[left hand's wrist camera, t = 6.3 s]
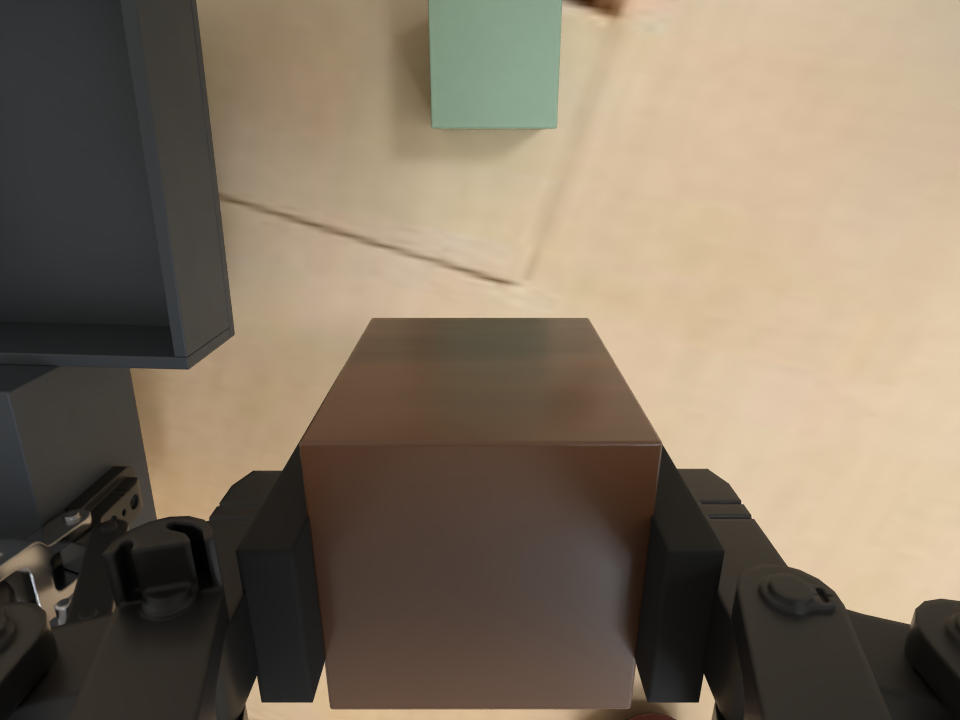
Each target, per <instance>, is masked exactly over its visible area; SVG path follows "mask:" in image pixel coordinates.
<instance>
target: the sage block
mask: <svg viewBox="0 0 960 720" xmlns="http://www.w3.org/2000/svg"><path fill="white" fill-rule="evenodd" d="M428 13H429V51H430V89H431V127H432V128H434V129H441V130H542V129H554V128H556V127H557V110H558V86H559V62H560V38H561V14H562V0H428Z"/></svg>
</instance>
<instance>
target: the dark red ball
mask: <svg viewBox="0 0 960 720" xmlns="http://www.w3.org/2000/svg"><path fill="white" fill-rule="evenodd" d="M628 720H676V719H673V718H671V717H669V716H667V715H662V714H656V713H646V714H640V715H637V716H634V717H632V718H629V719H628Z"/></svg>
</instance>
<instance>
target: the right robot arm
mask: <svg viewBox="0 0 960 720" xmlns="http://www.w3.org/2000/svg"><path fill="white" fill-rule="evenodd" d="M142 508H143V501H142V496H141V490H140V485H139V479H138V477H135V472H134V469H133V467H131V466H113V467H112V468H111V469H110V470H109V471H107V472H106V473H105V474H104V475H103V476H102V477H100V478H99V479H98V480H97V481H96V482H95V483H93V484H92V485H91V486H90V487H89V488H88V489H86V490H85V491H84V492H83V493H82V494H81V495H80V496H78V497H77V498H76V499H75V500H74V501H73V502H71V503H70V504H69V505H68V506H67V507H66V508H64V509H65V512H64V513H62V514H60V515H58V516H57V517H55V518H54V519H52V520H51V521H50V522H48V523H47V524H45V525H44V526H42V527H41V528H39V529H38V530H36V531H35V532H33V533H32V534H30V535H29V536H27V537H26V538H25V539H18V538H12V537H7V538H4V539H2V540H0V604H3V603H11V602H18V601H22V602H28V603H35V604H38V605H39V606H40V607H41V608H42V609H43V610H44V611H46V614H47V617H48V620H49V623H50V626H51V627H54V626H58V625H63V624H67V623H72V622H76V621H80V620H85V619H89V618H94V617H98V616H102V615H105V614H109V613H112V612H114V609H115V607H116V605H115V601H114V597H113V594H112V590H111V586H110V582H109V579H108V575H107V571H106V567H105V564H104V560H103V556H102V554H103V553H104V551H105V550H106V549H107V548H108V547H109V545H110V544H111V543H112V542H113V541H114V540H116V539H117V538H119V537H120V536H121V535H123V534H124V533H126V532H127V531H129V526H128V524H130V523H131V522H132V521H133V520H134V518H136V517H137V516H138V515H139V513H140V512H141V511H142ZM58 552H59V555H60V559H61V563H62V564H61V565H59V566H58V567H57V568H56V569H54V570H53V571H52V572H51V569H50V562H51V559H52V558H53V556H54V555H55V554H57V553H58ZM72 594H73V596H72V599H71V598H68V597H69V596H71V595H72Z"/></svg>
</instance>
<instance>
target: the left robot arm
mask: <svg viewBox="0 0 960 720" xmlns="http://www.w3.org/2000/svg"><path fill="white" fill-rule="evenodd" d="M341 371H342V370H341ZM338 376H339V375H338ZM335 381H336V380H335ZM334 383H335V382H334ZM331 388H332V387H331ZM328 393H329V392H328ZM327 395H328V394H327ZM325 398H326V397H325ZM324 400H325V399H324ZM321 405H322V404H321ZM320 407H321V406H320ZM318 410H319V409H318ZM317 412H318V411H317ZM315 415H316V414H315ZM314 417H315V416H314ZM311 422H312V421H311ZM310 424H311V423H310ZM308 427H309V426H308ZM307 429H308V428H307ZM304 434H305V433H304ZM303 436H304V435H303ZM301 439H302V438H301ZM300 441H301V440H300ZM299 443H300V442H299ZM299 443H298V445H297V447H296V449H295V450H294V452H293V454H292V455H291V457H290V459H289V461H288V462H287V464H286V466H285V467H284V469H283V471H252V472H251V473H249V474H248V475H246V476H245V477H244V478H242V479H241V480H239V481H238V482H236V483H235V484H234V485H232V486H231V488H230V489H229V490H228V492H227V493H226V495H225V496H224V498H223V499H222V500H221V502H220V506H217V507H216V509H215V510H214V512H213V513H212V515H211V516H210V517H209V518H210V519H209V521H207V522H206V521H205V520H203V519H199V518H195V517H191V516H178V517H167V518H163V519H158V520H154V521H150V522H147V523H145V524H142V525H140V526H138V527H135V528H133V529H131V530H129V531H127V532H126V533H124V534H123V535H121V536H120V537H119V538H117V539H116V540H114V541H113V542H112V543H111V544H110V545H109V547H108V548H107V549H106V550H105V551H104V553H103V554H102V556H103V560H104V564H105V567H106V571H107V575H108V579H109V582H110V586H111V590H112V594H113V597H114V601H115V605H116V607H115V609H114V612H112V613H109V614H105V615H102V616H98V617H94V618H89V619H85V620H80V621H76V622H72V623H67V624H63V625H58V626H54V627H51V626H50V623H49V620H48V617H47V614H46V611H44V610H43V609H42V608H41V607H40V606H39V605H38V604H35V603H28V602H22V601H18V602H11V603H3V604H0V720H248V715H247V710H246V704H245V703H246V701H247V698H248V696H249V693H250V691H251V688H252V686H253V684H254V681H255V679H256V676H257V678H258V684H259V690H260V696H261V701H262V702H313V700H314V696H315V693H316V690H317V686H318V683H319V679H320V676H321V673H322V669H323V666H324V662H325V652H324V643H323V635H322V626H321V618H320V609H319V601H318V592H317V584H316V575H315V567H314V558H313V550H312V541H311V533H310V524H309V516H308V515H307V507H306V499H305V490H304V482H303V473H302V465H301V456H300V448H299ZM635 661H636V664H637V668H638V671H639V675H640V678H641V681H642V685H643V688H644V692H645V695H646V698H647V702H699V698H700V692H701V686H702V681H703V675H705V677H706V680H707V682H708V684H709V687H710V689H711V692H712V694H713V696H714V699H715V704H714V710H713V715H712V720H960V601H955V600H947V599H936V600H930V601H924V602H923V603H922V604H921V605H920V606H919V607H917V608H916V609H915V612H914V615H913V618H912V621H911V625H909V624H905V623H900V622H896V621H892V620H887V619H883V618H878V617H874V616H869V615H865V614H861V613H857V612H854V611H851V610H847V609H846V608H845V606H844V604H843V603H842V602H841V600H840V599H839V597H838V596H837V594H836V593H835V592H834V591H833V590H832V589H831V588H829V587H828V586H827V585H826V584H824V583H823V582H822V581H820V580H819V579H817V578H815V577H813V576H811V575H809V574H807V573H805V572H803V571H801V570H798V569H794V568H791V567H788V566H787V565H786V563H785V562H784V561H783V559H782V558H781V556H780V555H779V554H778V552H777V551H776V549H775V548H774V547H773V545H772V544H771V542H770V541H769V539H768V538H767V537H766V535H765V534H764V532H763V531H762V530H761V528H760V527H759V525H758V524H757V523H756V521H755V520H754V519H752V518H751V514H750V513H749V511H748V510H747V509H746V507H745V506H744V504H741V500H740V499H739V497H738V496H737V494H736V493H735V492H734V490H733V489H732V487H731V486H730V485H729V483H727V482H726V481H724V480H723V479H721V478H720V477H718V476H717V475H715V474H714V473H713V472H711V471H710V470H708V469H677V468H676V467H675V465H674V463H673V462H672V460H671V458H670V456H669V455H668V453H667V451H666V450H665V448H664V446H663V445H662V451H661V460H660V468H659V476H658V485H657V493H656V501H655V510H654V515H653V516H652V520H651V528H650V536H649V545H648V553H647V562H646V570H645V579H644V587H643V596H642V604H641V612H640V621H639V629H638V638H637V646H636V655H635Z"/></svg>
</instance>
